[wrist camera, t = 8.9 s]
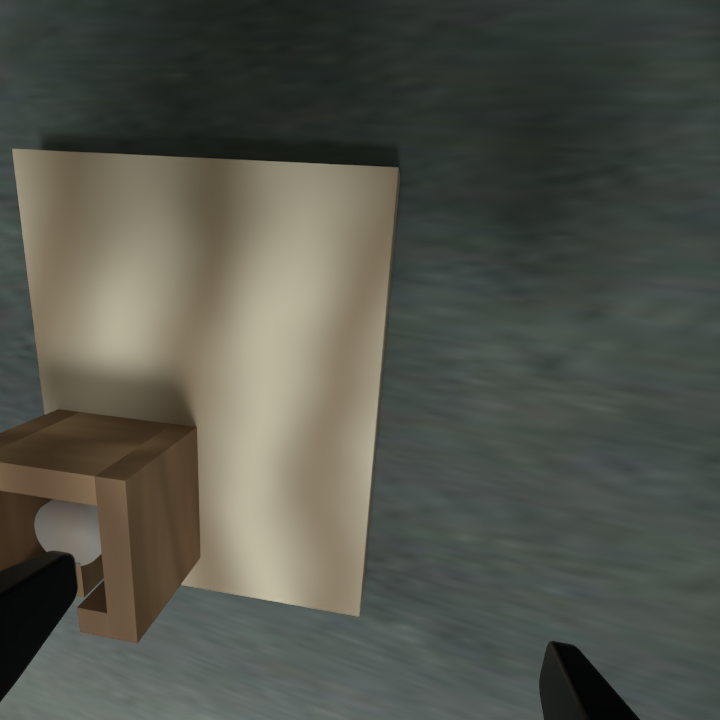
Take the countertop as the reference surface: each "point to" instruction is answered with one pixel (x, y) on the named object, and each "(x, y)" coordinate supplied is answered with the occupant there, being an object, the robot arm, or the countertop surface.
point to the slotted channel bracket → (108, 507)
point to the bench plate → (222, 347)
